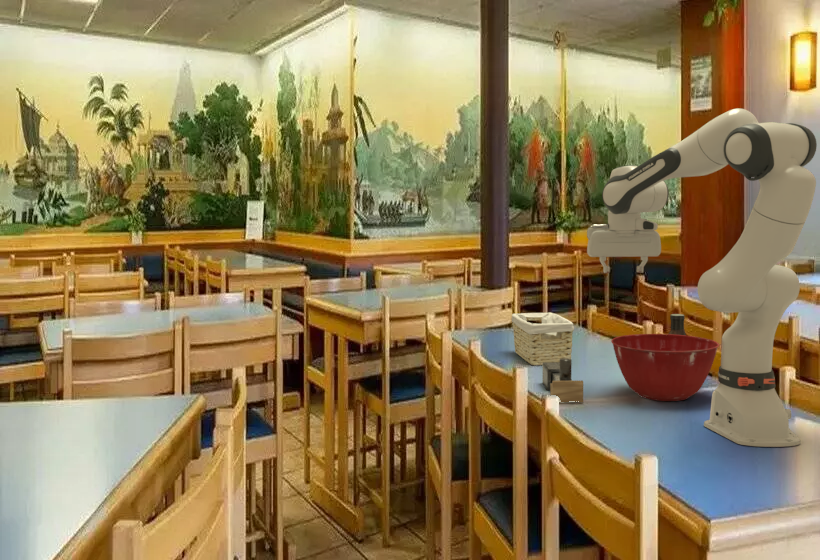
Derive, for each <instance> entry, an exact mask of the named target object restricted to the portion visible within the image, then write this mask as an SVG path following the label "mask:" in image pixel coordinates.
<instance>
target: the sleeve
mask: <svg viewBox="0 0 820 560" xmlns="http://www.w3.org/2000/svg"><path fill="white" fill-rule="evenodd" d="M552 372H560V362H543V365H542V385H543V384H544V385H543V386H544V388H545V387H546V388H545V390H546V391H547V390H550V383H552Z"/></svg>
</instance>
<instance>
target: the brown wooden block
mask: <svg viewBox="0 0 820 560" xmlns="http://www.w3.org/2000/svg"><path fill="white" fill-rule="evenodd" d="M550 395H556V396H558V397H559V398H560V400H561V402H569V401H575V402H576V401H577V402H578V401H579V402H583V403H584V381H583V380H572V381H552V383H550Z"/></svg>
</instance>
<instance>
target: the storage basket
mask: <svg viewBox="0 0 820 560" xmlns="http://www.w3.org/2000/svg"><path fill="white" fill-rule="evenodd" d="M530 321H541V323H533V322H530ZM511 322H512V324H511V325H512V329H513V330H512V331H513V342H514V343H513V345H514V352H515V353H516V354H517V355H518V356H519V357H521V358H522V359H523V360H524V361H525V362H527V363H528V364H530V365H532V366H543V362H560V359H562V358H568V359H571V360H572V351H573V349H572V348H573V333H574V331H575V326H574V323H573V322H572V321H571V320H569V319H567V318H566V317H564V316H561V315H560V314H557V313H554V312H525V313H524V312H521V313H512V314H511Z"/></svg>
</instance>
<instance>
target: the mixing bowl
mask: <svg viewBox="0 0 820 560" xmlns="http://www.w3.org/2000/svg"><path fill="white" fill-rule="evenodd" d="M610 341H611V343H612V346H613V351H614V354H615V357H616V361H617V365H618V367H619V369H620V371H621V375H622V376H623V378H624V380H625V382H626V384H627V385H628V387H629V388H630V389H631V390H632V391H633V392H634V393H636V394H638V396H639V397H641V396H642V397H641V398H643V399H647V400H653V401H661V402H677V401H684V400H687V399H689V398H690V397H692V396H694V395H695V394H697V392H699V391H700V389H701V388H702V386H703V385H704V383H705V382H706V379H707V377H708V375H709V374H710V372H711V368H712V366H713V364H714V361H715V358H716V355H717V352H718V348H719V347H720V343H719V342H717V341H715V340H713V339H710V338H709V339H708V338H705V337H701V336H700V337H699V336H693V335H692V336H691V335H686V336H685V335H672V334H668V333H639V334H637V333H636V334H628V335H621V336H620V335H619V336H616V337H613V338H612V339H611V340H610Z"/></svg>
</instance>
